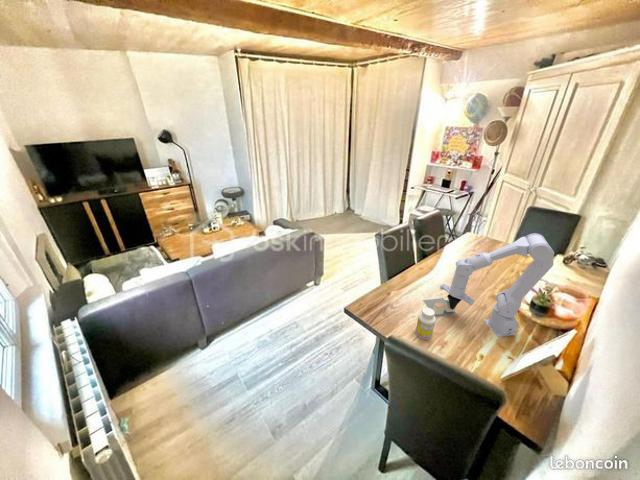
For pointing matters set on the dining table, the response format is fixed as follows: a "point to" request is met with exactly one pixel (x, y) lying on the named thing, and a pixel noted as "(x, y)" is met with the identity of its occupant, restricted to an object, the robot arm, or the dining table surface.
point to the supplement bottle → (426, 323)
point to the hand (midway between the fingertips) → (452, 308)
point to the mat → (431, 302)
